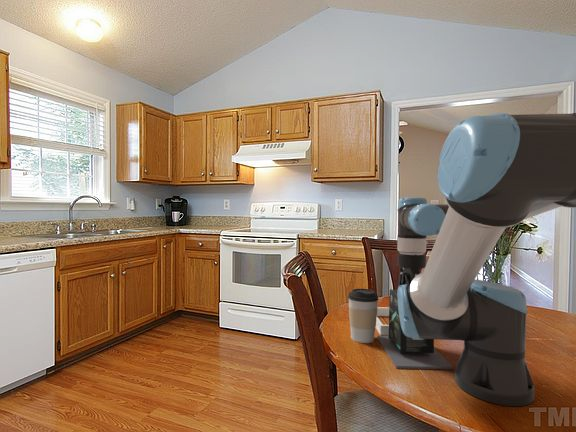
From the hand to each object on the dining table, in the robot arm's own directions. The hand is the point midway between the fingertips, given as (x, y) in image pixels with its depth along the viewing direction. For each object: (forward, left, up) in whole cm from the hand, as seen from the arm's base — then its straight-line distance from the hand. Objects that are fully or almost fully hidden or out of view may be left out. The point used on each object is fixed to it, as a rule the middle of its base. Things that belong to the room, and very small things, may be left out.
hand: (410, 331), depth 95 cm
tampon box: (0, 0, -4) cm, 4 cm away
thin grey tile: (-1, 0, -6) cm, 6 cm away
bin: (+21, -3, -6) cm, 22 cm away
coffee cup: (+8, +12, -6) cm, 15 cm away
